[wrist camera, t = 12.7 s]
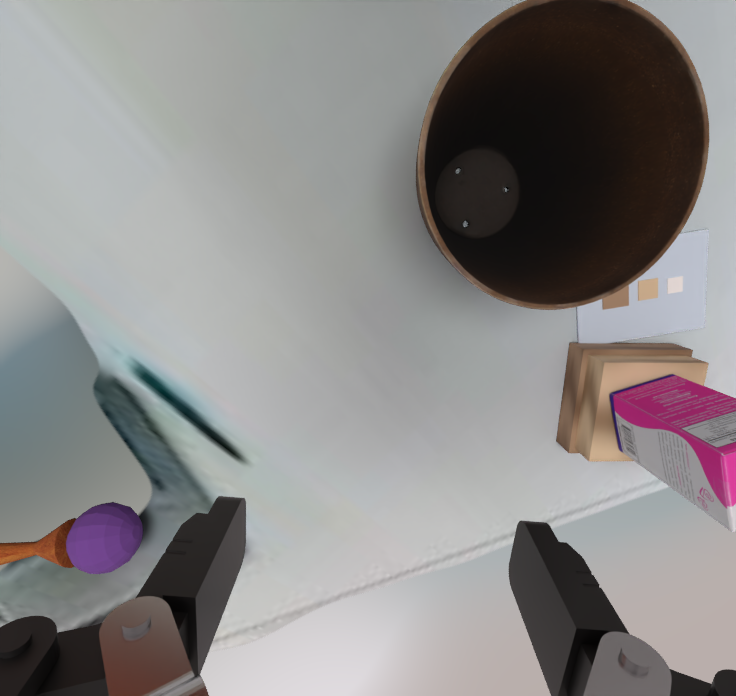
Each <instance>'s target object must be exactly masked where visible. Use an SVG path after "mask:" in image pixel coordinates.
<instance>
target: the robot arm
mask: <svg viewBox="0 0 736 696" xmlns="http://www.w3.org/2000/svg"><path fill="white" fill-rule="evenodd" d="M245 545H246V501H245V499H244V498H235V497H223V496H219V497H218V498H217V499H216V501H215V502H214V504H213V506H212V508H211V510H210V511H209V513H208V514H203V513H196V514H195V515H194V516H192V517H191V518H190V519H188V520H187V521H186V522H185V523H183V524H182V525H181V527H180V528H179V530H178V532H177V533H176V535H175V536H174V538H173V541H171V543H170V544H169V546H168V547H167V549H166V552H165V553H164V554H163V555H162V557H161V559H160V560H159V562H158V563H157V565H156V567H155V568H154V570H153V571H152V573H151V575H150V576H149V578H148V579H147V581H146V582H145V584H144V586H143V587H142V589H141V590H140V592H139V594H138V595H137V597H136V598H134V599H131V600H129V601H127V602H124V603H123V604H121V605H119V606H118V607H117V608H115V609H114V610H113V611H112V612H111V613H110V614H109V615H108V616H107V617H106V618H105V620H104V621H103V622H102V623H100V624H97V625H93V626H89V627H84V628H79V629H74V630H69V631H64V632H59V633H57V628H56V625H55V623H54V622H53V621H52V620H51V619H49V618H47V617H44V616H29V617H24V618H20V619H17V620H15V621H12V622H10V623H8V624H5V625H3V626H2V627H0V696H209V695H208V692H207V689H206V686H205V684H204V681H203V679H202V677H201V676H200V673H201V670H202V667H203V664H204V662H205V659H206V657H207V654H208V652H209V649H210V646H211V644H212V641H213V639H214V636H215V633H216V631H217V628H218V625H219V623H220V620H221V618H222V615H223V612H224V610H225V607H226V605H227V602H228V599H229V597H230V594H231V591H232V589H233V586H234V584H235V581H236V578H237V576H238V573H239V571H240V568H241V565H242V562H243V558H244V553H245ZM509 579H510V585H511V588H512V591H513V594H514V596H515V599H516V602H517V604H518V607H519V610H520V613H521V615H522V618H523V621H524V623H525V626H526V629H527V632H528V634H529V637H530V639H531V642H532V645H533V648H534V650H535V653H536V656H537V659H538V661H539V664H540V666H541V669H542V672H543V675H544V677H545V680H546V682H547V685H548V688H549V691H550V693H551V696H736V671H735V670H721V671H719V672H717V674H716V675H715V677H714V679H713V682H712V684H710V683H707V682H704V681H701V680H699V679H696V678H693V677H690V676H687V675H684V674H681V673H679V672H676V671H674V670H671V669H669V667H668V665H667V664H666V662H665V661H664V659H663V658H662V657H661V656H660V654H659V653H657V651H656V650H654V649H653V648H652V647H651V646H650V645H648V644H647V643H646V642H644V641H642V640H641V639H639V638H637V637H635V636H632V635H630V634H629V633H628V631H627V629H626V628H625V626H624V624H623V623H622V621H621V620H620V618H619V616H618V615H617V613H616V612H615V610H614V608H613V606H612V605H611V603H610V602H609V600H608V598H607V597H606V595H605V594H604V592H603V590H602V589H601V588H599V584H598V582H597V580H596V579H595V577H594V576H593V575H592V574H591V571H590V569H589V567H588V566H587V564H586V562H585V561H584V559H583V558H582V556H581V555H580V554H578V553H577V552H576V551H575V550H574V549H573V548H572V547H571V546H570V545H568V544H567V543H563V542H558V540H557V538H556V537H555V535H554V533H553V531H552V529H551V528H550V526H549V525H548V524H547V523H544V522H531V521H520V522H519V523H518V525H517V529H516V534H515V538H514V543H513V548H512V553H511V558H510V562H509Z"/></svg>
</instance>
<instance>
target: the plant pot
mask: <svg viewBox="0 0 736 696" xmlns="http://www.w3.org/2000/svg"><path fill="white" fill-rule="evenodd" d="M708 148H709V121H708V112H707V105H706V100H705V95H704V92H703V88H702V85H701V82H700V79H699V77H698V74H697V72H696V69H695V67H694V65H693V63H692V61H691V59H690V57H689V55H688V53H687V52H686V50H685V48H684V47H683V45H682V44H681V43H680V41H679V40H678V39H677V38H676V36H675V35H674V34H673V33H672V32H671V31H670V30H669V29H668V28H667V27H666V26H665V25H664V24H663V23H662V22H661V21H660V20H659V19H657V18H656V17H655V16H653V15H652V14H651V13H650V12H648V11H647V10H645V9H643V8H642V7H640V6H638V5H637V4H634V3H632V2H630V1H628V0H526V1H524V2H521V3H519V4H517V5H515V6H513V7H511V8H509V9H507V10H505V11H504V12H502V13H501V14H499V15H498V16H496V17H495V18H493V19H492V20H491V21H489V22H488V23H486V24H485V25H484V26H483V27H482V28H481V29H479V30H478V31H477V32H476V33H475V34H474V35H473V36H472V37H471V38H470V39H469V40H468V41H467V42H466V43H465V44H464V45H463V46H462V47H461V49H460V50H459V51H458V52H457V54H456V55H455V56H454V58H453V59H452V61H451V62H450V63H449V65H448V66H447V68H446V69H445V71H444V73H443V75H442V76H441V78H440V80H439V82H438V84H437V86H436V88H435V90H434V92H433V94H432V97H431V99H430V101H429V105H428V108H427V111H426V114H425V117H424V121H423V125H422V130H421V134H420V139H419V146H418V153H417V162H416V188H417V197H418V202H419V207H420V211H421V214H422V218H423V220H424V223H425V225H426V228H427V230H428V232H429V234H430V236H431V238H432V239H433V241H434V243H435V244H436V246H437V247H438V249H439V250H440V251H441V253H442V254H443V255H444V256H445V258H446V259H447V260H448V261H449V262H450V263H451V264H452V266H453V267H454V268H455V269H456V270H457V271H458V272H459V273H460V274H462V275H463V276H464V277H465V278H466V279H467V280H468V281H469V282H471V283H472V284H473V285H475V286H476V287H477V288H479V289H480V290H482V291H484V292H485V293H487V294H489V295H491V296H493V297H495V298H497V299H499V300H502V301H504V302H507V303H510V304H513V305H517V306H521V307H526V308H531V309H542V310H556V309H567V308H573V307H578V306H583V305H586V304H589V303H593V302H595V301H598V300H601V299H603V298H606V297H608V296H610V295H612V294H614V293H616V292H618V291H620V290H621V289H623V288H625V287H626V286H628V285H629V284H631V283H632V282H634V281H635V280H636V279H638V278H639V277H640V276H642V275H643V274H644V273H645V272H646V271H648V270H649V269H650V268H651V267H652V266H653V265H654V264H655V263H656V262H657V261H658V260H659V259H660V258H661V257H662V256H663V255H664V253H665V252H666V251H667V250H668V249H669V247H670V246H671V245H672V243H673V242H674V241H675V239H676V238H677V237H678V235H679V234H680V232H681V230H682V229H683V227H684V225H685V224H686V222H687V220H688V218H689V216H690V214H691V212H692V210H693V208H694V206H695V203H696V200H697V198H698V195H699V193H700V190H701V187H702V183H703V179H704V175H705V169H706V164H707V158H708ZM457 168H461V170H462V171H461V172H460V173H459V174H456V173H455V171H456V169H457ZM504 187H508V189H509V191H508V192H505V188H504ZM465 220H467V221H468V223H469V225H468V227H466V228H465V227H463V222H464V221H465Z"/></svg>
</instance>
